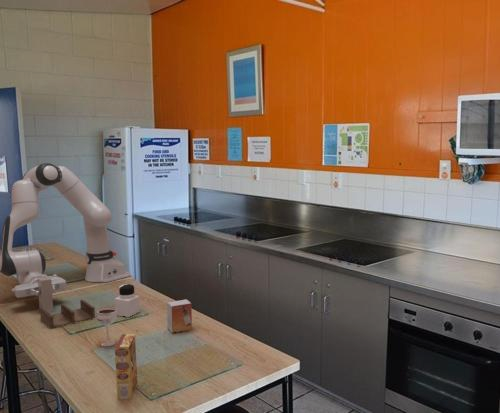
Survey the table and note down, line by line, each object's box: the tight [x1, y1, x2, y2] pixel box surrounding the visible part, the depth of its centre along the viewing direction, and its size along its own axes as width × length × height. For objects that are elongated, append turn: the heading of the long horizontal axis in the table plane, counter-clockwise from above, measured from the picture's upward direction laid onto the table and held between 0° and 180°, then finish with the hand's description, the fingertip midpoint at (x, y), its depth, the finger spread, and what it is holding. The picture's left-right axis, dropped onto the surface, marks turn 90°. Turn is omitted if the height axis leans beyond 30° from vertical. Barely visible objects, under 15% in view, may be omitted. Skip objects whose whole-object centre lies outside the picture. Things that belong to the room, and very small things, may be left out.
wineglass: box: [96, 306, 118, 347], centre depth 167 cm, size 7×7×12 cm
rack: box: [39, 299, 96, 330], centre depth 190 cm, size 17×13×4 cm
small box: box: [166, 299, 193, 334], centre depth 179 cm, size 8×6×10 cm
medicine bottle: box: [114, 283, 140, 318], centre depth 195 cm, size 7×7×12 cm
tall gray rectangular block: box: [38, 277, 54, 314], centre depth 198 cm, size 4×5×14 cm
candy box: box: [114, 333, 138, 401], centre depth 134 cm, size 9×4×15 cm, turn 3°
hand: (45, 292), depth 197 cm, fingers open, 5 cm apart
